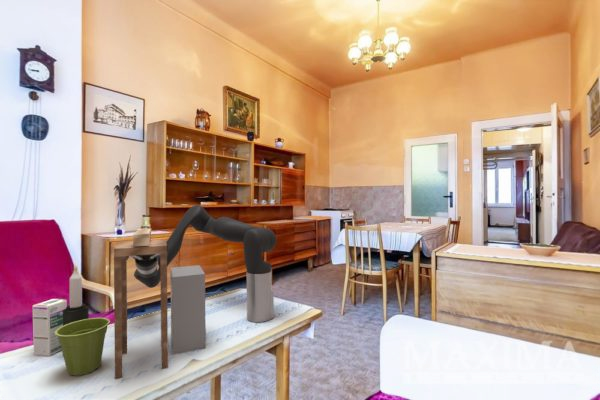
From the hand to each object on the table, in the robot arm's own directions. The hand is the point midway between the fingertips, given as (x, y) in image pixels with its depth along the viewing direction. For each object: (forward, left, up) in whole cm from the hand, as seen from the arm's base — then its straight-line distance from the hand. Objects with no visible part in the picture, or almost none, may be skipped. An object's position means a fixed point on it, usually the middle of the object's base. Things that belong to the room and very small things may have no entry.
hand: (145, 243), depth 102 cm
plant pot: (+14, +17, -30) cm, 37 cm away
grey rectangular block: (-12, +12, -30) cm, 34 cm away
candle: (+18, +5, -30) cm, 35 cm away
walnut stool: (0, +18, -30) cm, 35 cm away
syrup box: (+25, +1, -30) cm, 39 cm away
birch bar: (0, +14, +2) cm, 14 cm away
